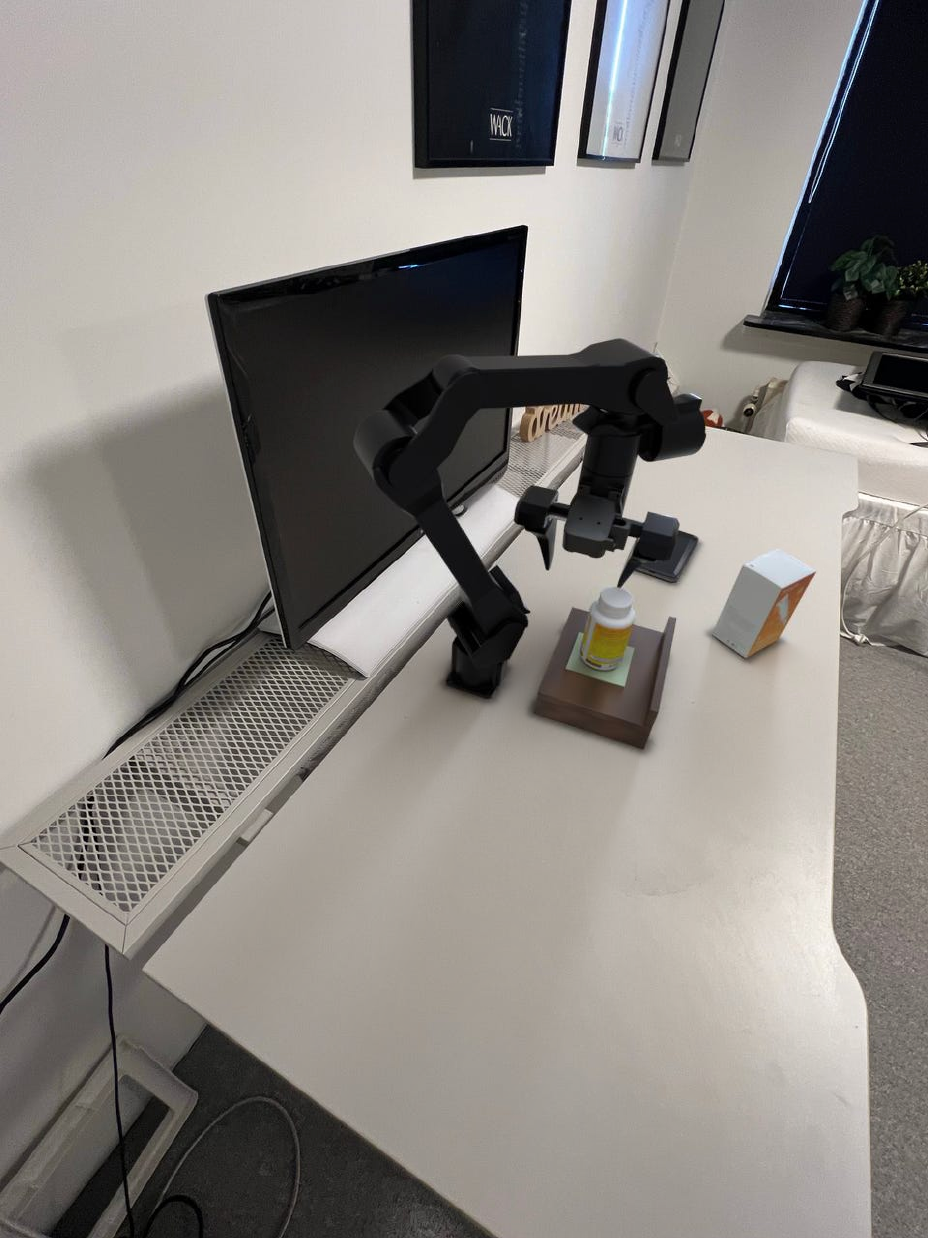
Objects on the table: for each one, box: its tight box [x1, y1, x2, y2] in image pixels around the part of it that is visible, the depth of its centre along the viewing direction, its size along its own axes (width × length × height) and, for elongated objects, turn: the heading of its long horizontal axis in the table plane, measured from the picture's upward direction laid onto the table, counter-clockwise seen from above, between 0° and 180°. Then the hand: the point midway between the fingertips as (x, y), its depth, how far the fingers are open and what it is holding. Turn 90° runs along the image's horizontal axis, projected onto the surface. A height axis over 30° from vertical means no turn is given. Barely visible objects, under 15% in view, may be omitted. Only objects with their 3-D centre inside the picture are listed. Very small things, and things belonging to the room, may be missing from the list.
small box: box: [711, 548, 817, 659], centre depth 84 cm, size 8×6×13 cm
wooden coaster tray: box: [533, 606, 677, 750], centre depth 78 cm, size 14×18×7 cm
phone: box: [635, 529, 699, 583], centre depth 104 cm, size 8×1×15 cm
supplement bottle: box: [580, 586, 636, 670], centre depth 75 cm, size 6×6×10 cm
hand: (582, 577), depth 76 cm, fingers open, 9 cm apart
